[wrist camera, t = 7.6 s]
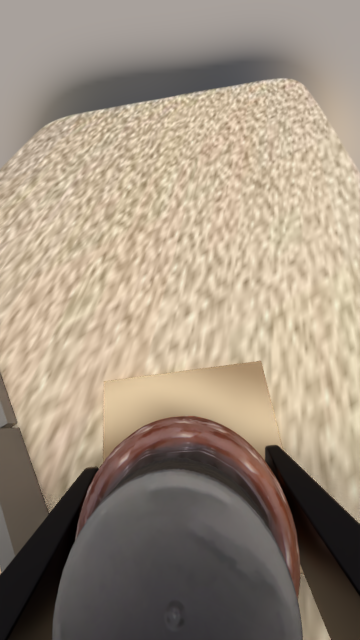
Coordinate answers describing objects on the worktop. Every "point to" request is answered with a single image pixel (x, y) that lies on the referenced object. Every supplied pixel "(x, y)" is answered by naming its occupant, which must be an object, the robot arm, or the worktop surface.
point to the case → (16, 487)
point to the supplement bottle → (182, 543)
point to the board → (193, 403)
